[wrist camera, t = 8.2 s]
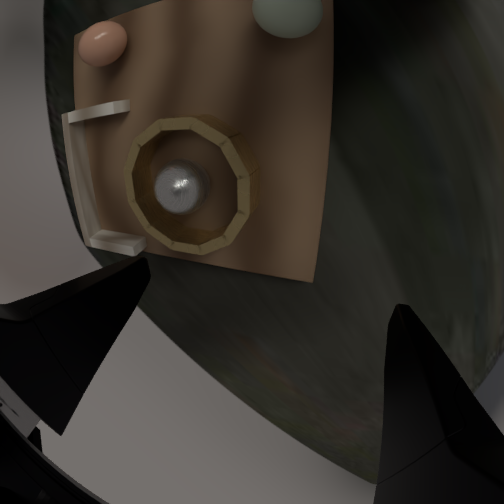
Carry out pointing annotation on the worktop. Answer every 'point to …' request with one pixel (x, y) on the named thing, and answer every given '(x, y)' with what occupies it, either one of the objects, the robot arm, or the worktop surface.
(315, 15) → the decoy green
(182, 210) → the steel ball
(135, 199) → the race ring
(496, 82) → the worktop surface
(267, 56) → the board
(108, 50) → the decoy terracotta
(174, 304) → the worktop surface
